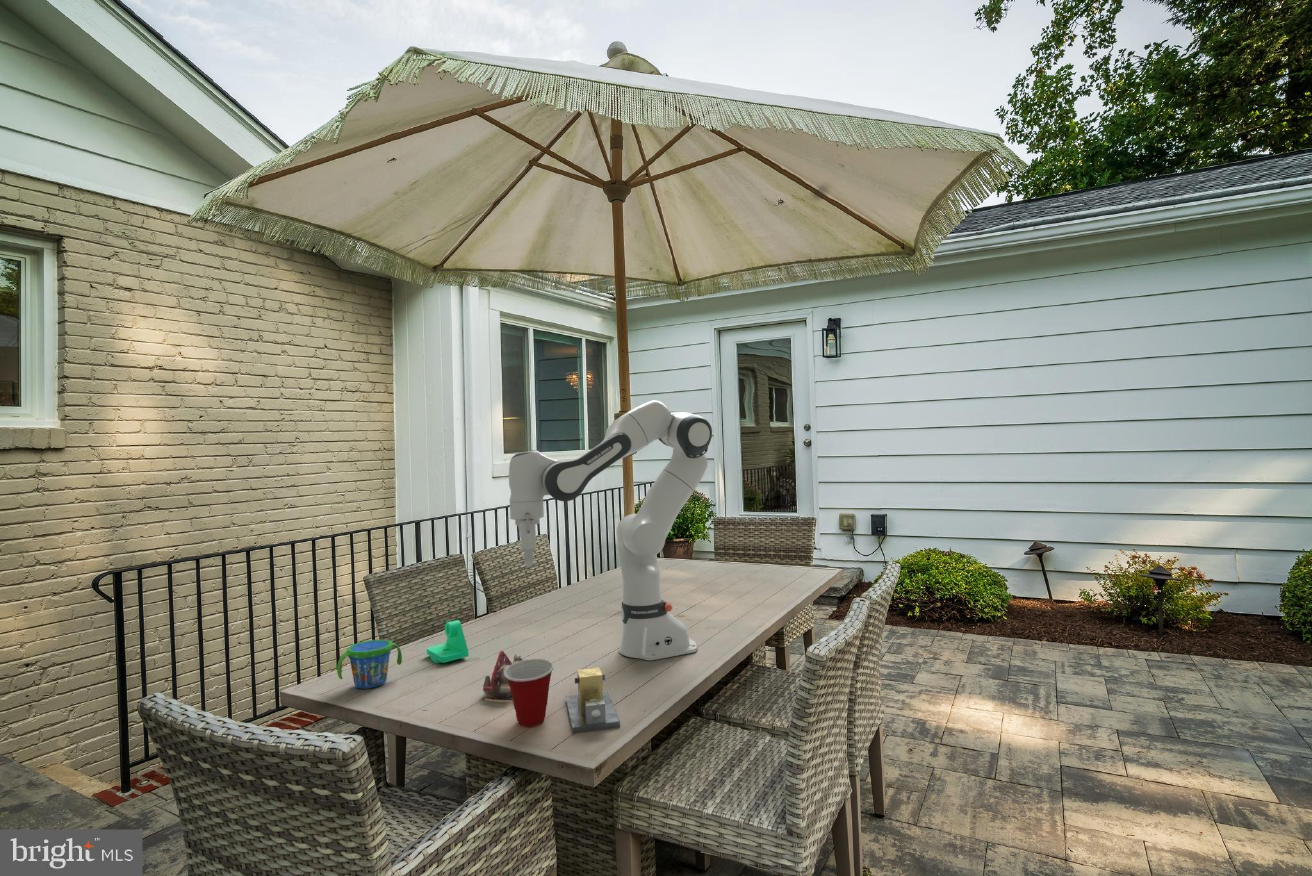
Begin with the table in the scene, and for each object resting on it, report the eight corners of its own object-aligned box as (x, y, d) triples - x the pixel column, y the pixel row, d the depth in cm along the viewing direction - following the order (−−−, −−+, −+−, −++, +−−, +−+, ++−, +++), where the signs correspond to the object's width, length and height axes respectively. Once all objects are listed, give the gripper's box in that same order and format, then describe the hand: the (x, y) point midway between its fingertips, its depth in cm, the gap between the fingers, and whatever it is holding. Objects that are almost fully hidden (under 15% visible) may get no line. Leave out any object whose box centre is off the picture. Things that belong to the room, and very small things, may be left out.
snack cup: (397, 671, 173) (396, 634, 173) (407, 682, 165) (406, 643, 165) (334, 686, 164) (332, 647, 164) (341, 698, 156) (340, 657, 156)
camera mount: (425, 657, 185) (424, 622, 185) (450, 650, 190) (449, 616, 191) (442, 667, 176) (441, 630, 176) (468, 660, 181) (467, 624, 182)
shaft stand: (608, 696, 151) (607, 674, 151) (620, 727, 135) (619, 702, 135) (565, 701, 149) (565, 679, 149) (572, 733, 132) (571, 708, 132)
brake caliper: (489, 674, 162) (513, 640, 161) (520, 701, 160) (544, 667, 159) (467, 691, 152) (492, 654, 150) (499, 720, 150) (525, 683, 148)
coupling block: (603, 702, 145) (602, 666, 145) (607, 710, 140) (605, 674, 140) (574, 705, 144) (573, 670, 144) (577, 714, 139) (576, 678, 139)
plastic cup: (495, 729, 136) (493, 673, 136) (523, 708, 146) (521, 656, 146) (539, 736, 132) (537, 678, 132) (564, 714, 142) (562, 660, 142)
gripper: (540, 514, 160) (542, 569, 160) (537, 507, 180) (539, 556, 179) (515, 516, 158) (516, 571, 158) (514, 508, 178) (516, 558, 178)
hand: (528, 563), depth 169 cm, fingers open, 8 cm apart
